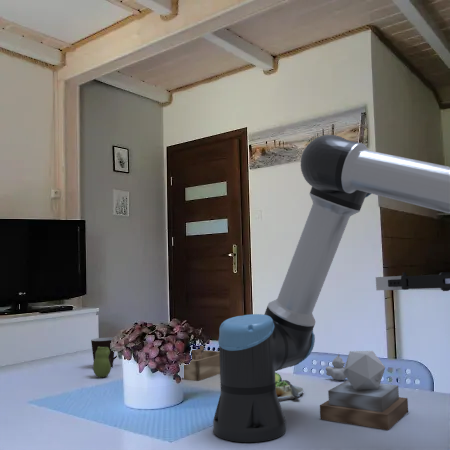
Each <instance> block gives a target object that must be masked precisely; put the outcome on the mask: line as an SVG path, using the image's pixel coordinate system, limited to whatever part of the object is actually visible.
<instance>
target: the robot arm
mask: <svg viewBox="0 0 450 450" xmlns="http://www.w3.org/2000/svg"><path fill="white" fill-rule="evenodd" d="M300 171H301V174H302V176H303V178H304V180H305V182H306V183H307V184H308V185H309V186H311V188H310V191H309V196H310V199H311V200H312V205H311V208H310V209H309V210H310V211H309V213H308V216H307V218H306V221H305V224H304V227H303V229H302V232H301V235H300V237H299V240H298V243H297V245H296V248H295V251H294V253H293V256H292V258H291V261H290V264H289V266H288V269H287V271H286V274H285V277H284V280H283V282H282V284H281V285H282V286H281V288H280V291H279V293H278V296H277V298H276V299H274V300H272V301H269V302H268V304H267V306H266V309H265V311H264V314H262V313H260V314H259V313H258V314H257V313H253V314H252V313H251V314H244V315H237V316H233V317H229V318H227V319H225V320H223V322H221V324H220V325H219V329H218V330H219V331H218V332H219V334H218V335H219V336H218V341H217V342H218V347H219V349H218V351H219V354H220V374H219V378H220V379H219V381H220V382H219V383H220V396H219V399H218V402H217V404H216V409H215V412H214V416H213V420H212V426H213V428H212V430H213V434H214V435H215V436H216V437H218V438H221V439H222V440H226V441H231V442H236V443H237V442H238V443H259V442H267V441H271V440H274V439H277V438H280V437H281V436H283V435H284V434H285V433H286V429H287V428H286V426H287V424H286V417H285V415H284V412H283V408H282V405H281V404H280V402H279V400H278V397H277V394H276V383H275V373H276V372H278V371H281V370H284V369H287V368H291V367H294V366H297V365H299V364H300V363H302V362H303V361H305V360H307V358H308V357H309V356H310V355H311V353H312V352H313V350H314V347H315V342H316V340H315V339H316V336H315V334H314V327H315V325H316V319H315V317H314V315H313V312H314V309H315V307H316V304H317V302H318V299H319V296H320V295H321V292H322V290H323V289H322V288H323V286H324V284H325V281H326V279H327V276H328V273H329V272H330V271H329V270H330V268H331V266H332V263H333V261H334V258H335V256H336V253H337V250H338V248H339V245H340V243H341V240H342V238H343V235H344V232H345V230H346V227H347V226H348V222H349V220H350V218H351V216H354V215H357V214H358V213H360V212H361V210H362V209H361V208H362V206H363V204H364V201H365V199H366V198H368V197H369V196H371V195H376V196H380V197H383V198H388V199H391V200H395V201H399V202H403V203H407V204H411V205H414V206H415V205H416V206H418V207H422V208H426V209H431V210H434V211H437V212H441V213H442V212H443V213H445V214H450V166H447V165H443V164H438V163H432V162H429V161H423V160H418V159H414V158H413V159H412V158H407V157H403V156H399V155H394V154H393V155H392V154H389V153H388V154H387V153H385V152H384V153H383V152H378V151H374V150H369V149H368V147H367V145H365V143H363V142H357V141H352V140H350V139H346V138H344V137H342V136H339V135H335V134H325V135H321V136H319V137H316V138H315V139H312V141H310V142H309V143H308V144H307V145H306V146H305V148H304V150H303V152H302V154H301V159H300ZM375 288H376V291H401V290H403V291H405V290H406V291H407V290H426V289H427V290H431V289H432V290H433V289H435V290H436V289H437V290H438V289H440V290H441V291H442V292H449V291H450V271H448V272H445V271H444V272H439V274H428V275H425V274H423V275H407V272H402V275H397V276H395V275H393V276H378V277H377V276H375Z"/></svg>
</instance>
